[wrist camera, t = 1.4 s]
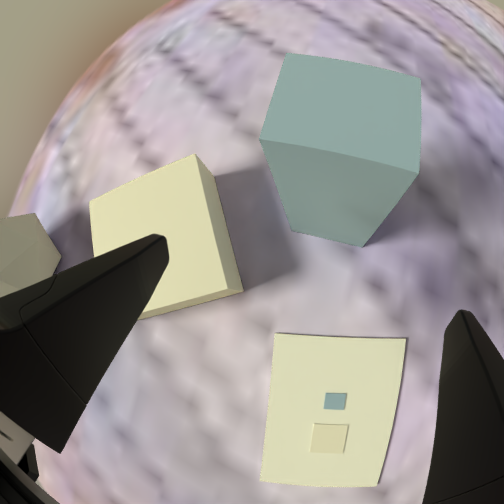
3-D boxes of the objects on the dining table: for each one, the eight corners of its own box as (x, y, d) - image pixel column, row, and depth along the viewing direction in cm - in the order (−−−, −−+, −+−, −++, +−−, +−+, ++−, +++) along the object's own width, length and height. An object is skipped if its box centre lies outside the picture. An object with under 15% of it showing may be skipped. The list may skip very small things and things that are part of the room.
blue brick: (361, 247, 20) (418, 173, 8) (291, 230, 21) (259, 139, 9) (371, 193, 20) (420, 78, 8) (304, 178, 22) (286, 53, 9)
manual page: (376, 484, 16) (376, 486, 16) (260, 479, 18) (259, 481, 18) (405, 338, 18) (406, 338, 18) (275, 333, 20) (274, 333, 20)
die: (56, 208, 27) (-24, 212, 21) (67, 222, 21) (-38, 229, 15) (58, 281, 29) (-17, 289, 23) (72, 314, 23) (-24, 326, 17)
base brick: (243, 291, 21) (227, 288, 17) (136, 320, 22) (105, 322, 19) (213, 176, 23) (195, 153, 19) (118, 215, 24) (89, 201, 20)
